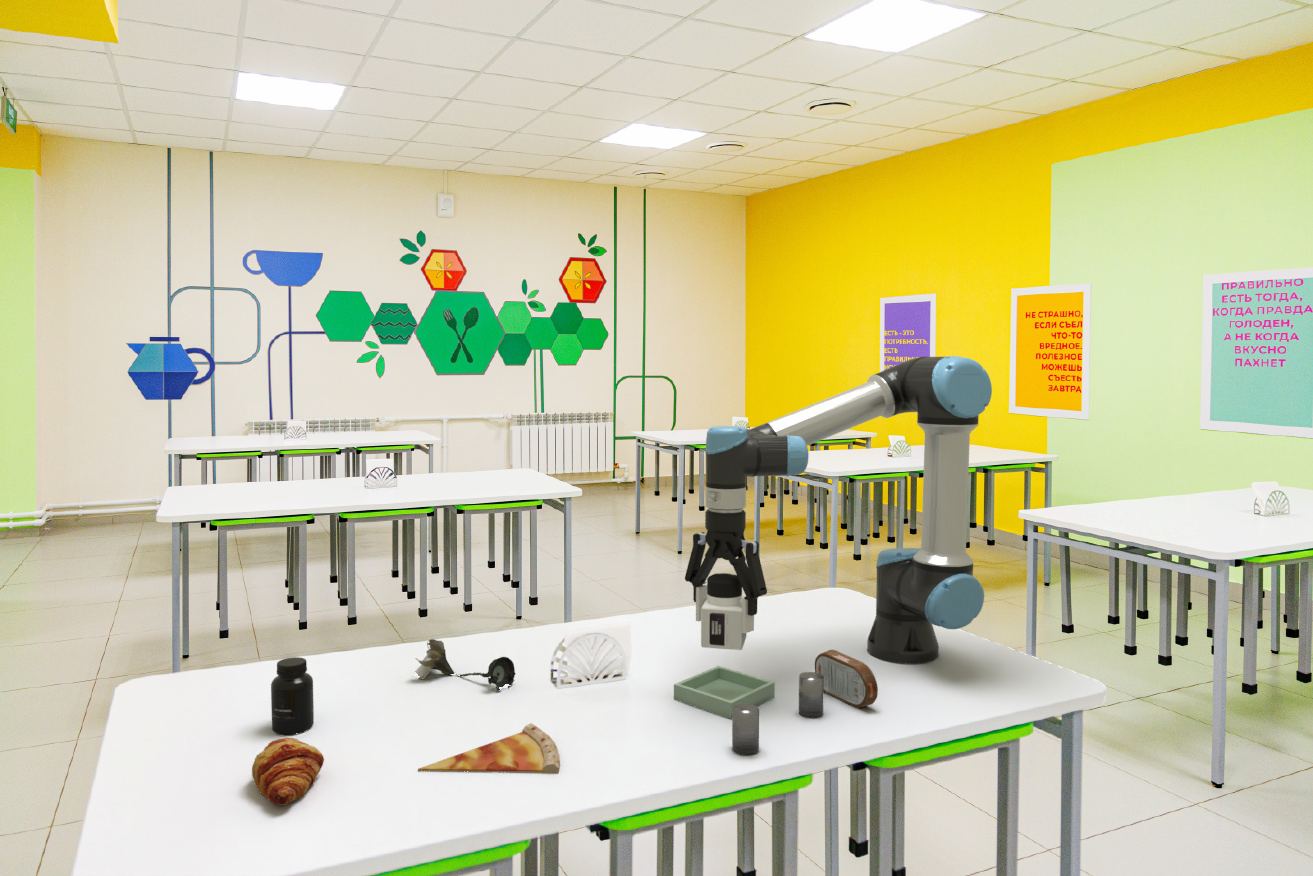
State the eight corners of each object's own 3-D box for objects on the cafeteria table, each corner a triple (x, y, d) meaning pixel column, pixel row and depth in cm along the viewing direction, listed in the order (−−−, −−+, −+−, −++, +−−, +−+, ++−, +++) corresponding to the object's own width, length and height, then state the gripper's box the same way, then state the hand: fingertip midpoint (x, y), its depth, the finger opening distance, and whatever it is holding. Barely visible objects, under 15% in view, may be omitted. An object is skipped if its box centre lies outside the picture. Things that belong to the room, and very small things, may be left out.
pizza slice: (445, 732, 154) (444, 721, 154) (571, 733, 153) (571, 722, 153) (417, 774, 138) (417, 762, 138) (558, 776, 138) (558, 763, 137)
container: (742, 650, 162) (743, 581, 161) (700, 647, 164) (701, 579, 162) (746, 637, 170) (747, 571, 168) (706, 635, 171) (707, 569, 170)
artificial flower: (491, 705, 168) (476, 659, 166) (411, 694, 181) (395, 652, 178) (520, 679, 176) (506, 634, 173) (441, 670, 188) (426, 629, 185)
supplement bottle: (273, 739, 150) (270, 670, 149) (270, 724, 156) (268, 658, 155) (316, 731, 153) (314, 664, 152) (312, 717, 159) (309, 652, 158)
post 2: (807, 707, 164) (807, 670, 163) (827, 713, 161) (828, 676, 160) (793, 714, 160) (794, 676, 160) (814, 720, 157) (815, 682, 157)
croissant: (271, 776, 144) (244, 738, 142) (328, 739, 147) (302, 701, 145) (266, 839, 124) (235, 796, 123) (332, 795, 127) (302, 752, 126)
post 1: (742, 741, 149) (742, 701, 148) (764, 749, 146) (764, 708, 145) (726, 750, 146) (727, 709, 145) (748, 758, 143) (748, 716, 142)
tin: (878, 711, 162) (879, 666, 161) (865, 715, 160) (866, 670, 159) (823, 685, 175) (824, 644, 174) (811, 688, 173) (811, 646, 172)
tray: (718, 680, 177) (718, 665, 177) (774, 697, 168) (774, 682, 168) (673, 699, 167) (673, 684, 167) (731, 719, 158) (731, 703, 158)
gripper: (666, 504, 169) (665, 617, 171) (764, 519, 154) (762, 643, 156) (691, 500, 175) (690, 609, 177) (788, 514, 159) (786, 633, 161)
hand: (724, 625), depth 166 cm, fingers closed on container, 10 cm apart
